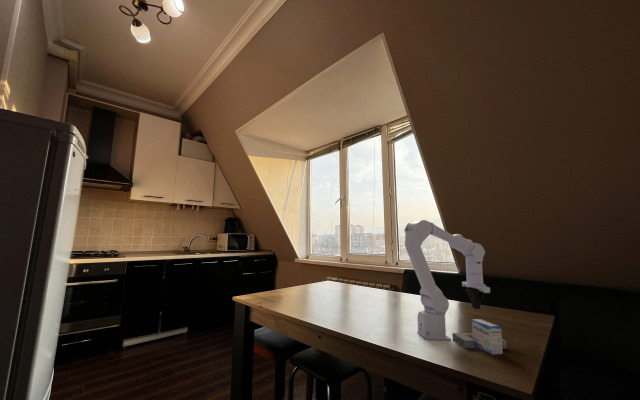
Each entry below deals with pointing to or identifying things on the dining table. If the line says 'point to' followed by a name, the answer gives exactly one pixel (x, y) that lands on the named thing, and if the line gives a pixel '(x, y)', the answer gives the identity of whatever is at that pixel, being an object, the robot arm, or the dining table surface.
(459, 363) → the dining table surface
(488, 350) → the medicine box
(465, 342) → the grey flat block
